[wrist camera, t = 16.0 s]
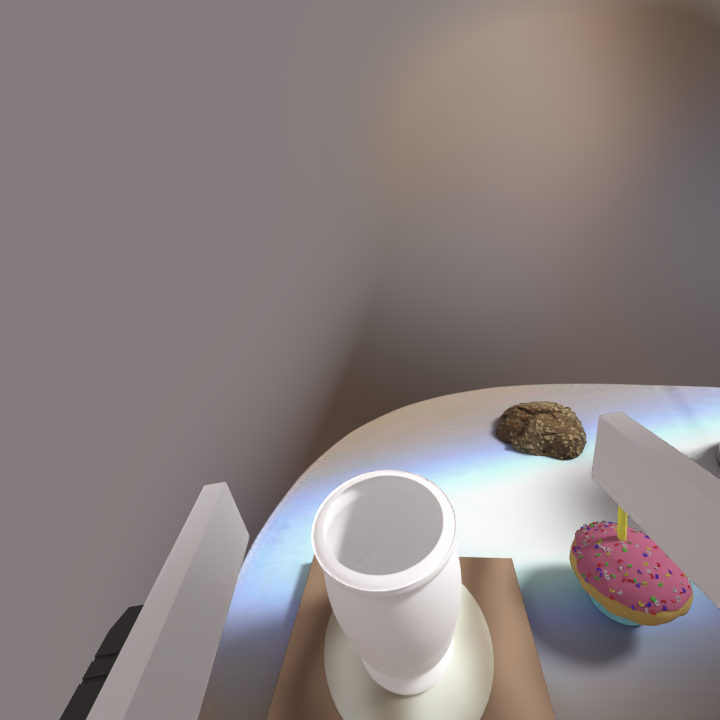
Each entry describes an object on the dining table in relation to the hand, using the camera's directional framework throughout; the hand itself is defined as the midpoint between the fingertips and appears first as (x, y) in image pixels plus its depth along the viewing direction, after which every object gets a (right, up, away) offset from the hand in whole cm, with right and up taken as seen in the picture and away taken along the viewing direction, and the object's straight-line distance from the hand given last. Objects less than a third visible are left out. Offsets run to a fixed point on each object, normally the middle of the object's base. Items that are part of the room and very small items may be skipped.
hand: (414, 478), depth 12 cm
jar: (+2, -21, +19) cm, 28 cm away
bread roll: (+27, -8, +43) cm, 52 cm away
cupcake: (+23, -19, +20) cm, 35 cm away
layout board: (+2, -22, +19) cm, 30 cm away
